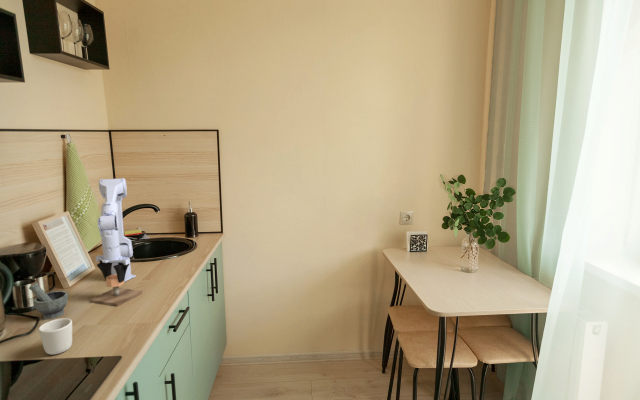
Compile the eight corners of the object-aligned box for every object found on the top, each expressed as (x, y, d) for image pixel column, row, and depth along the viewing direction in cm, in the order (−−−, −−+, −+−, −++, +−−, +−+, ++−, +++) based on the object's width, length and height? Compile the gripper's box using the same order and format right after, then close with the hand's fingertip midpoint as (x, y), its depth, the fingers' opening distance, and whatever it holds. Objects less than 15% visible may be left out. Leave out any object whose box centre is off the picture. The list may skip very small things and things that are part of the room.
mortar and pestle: (75, 307, 136) (71, 276, 134) (61, 320, 127) (56, 287, 125) (42, 310, 135) (37, 278, 133) (25, 322, 125) (20, 289, 123)
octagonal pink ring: (103, 286, 142) (102, 278, 141) (115, 280, 147) (114, 273, 147) (115, 287, 140) (114, 280, 139) (127, 282, 145) (126, 274, 145)
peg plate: (90, 302, 141) (88, 289, 140) (116, 289, 152) (115, 277, 151) (117, 306, 137) (116, 293, 136) (142, 293, 148) (140, 281, 147)
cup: (58, 338, 116) (55, 314, 114) (85, 336, 116) (82, 312, 115) (35, 358, 105) (31, 332, 104) (65, 356, 106) (61, 330, 104)
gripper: (87, 248, 139) (91, 282, 142) (117, 251, 135) (121, 286, 137) (103, 242, 146) (107, 275, 148) (132, 245, 142) (136, 279, 144)
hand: (115, 280), depth 143 cm, fingers closed on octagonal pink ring, 6 cm apart
